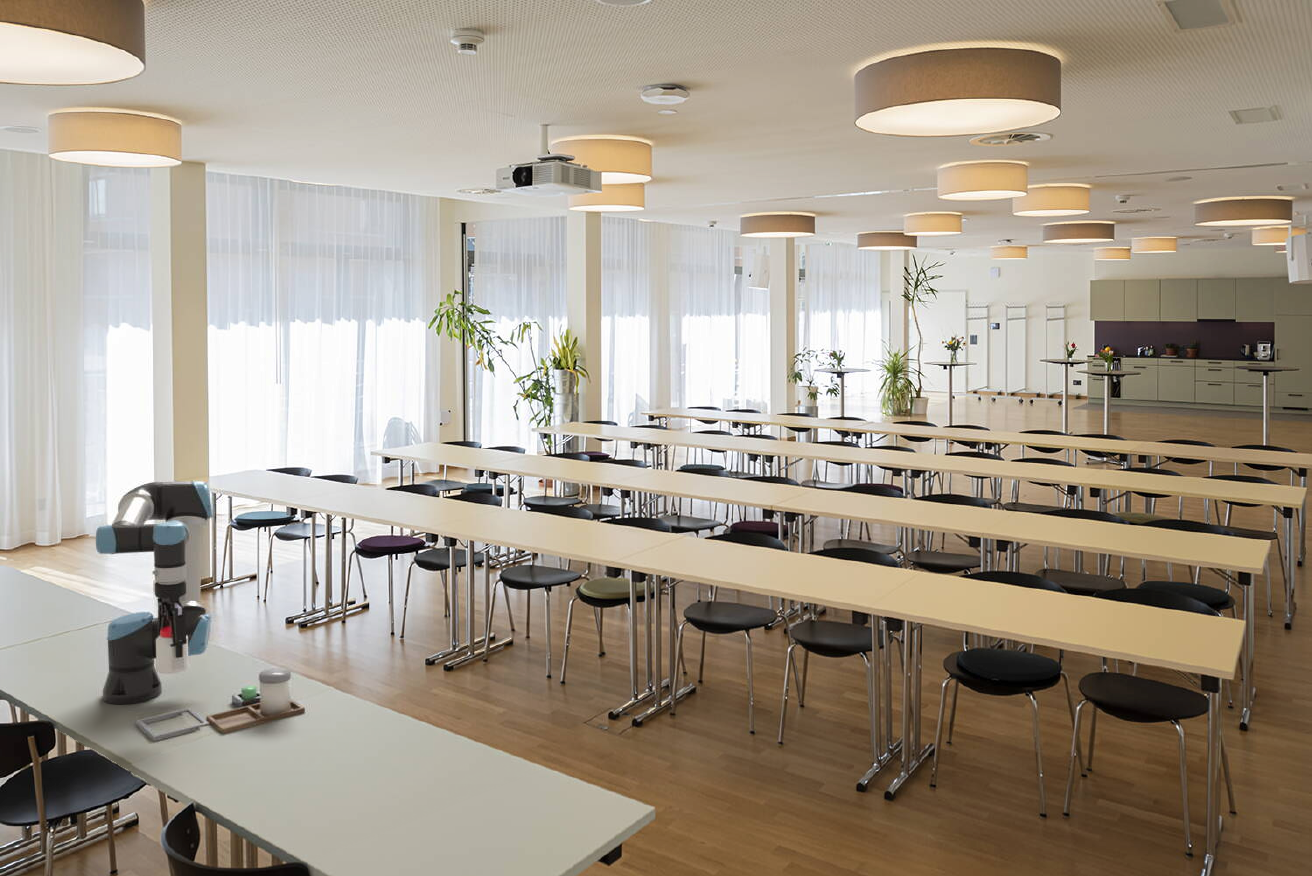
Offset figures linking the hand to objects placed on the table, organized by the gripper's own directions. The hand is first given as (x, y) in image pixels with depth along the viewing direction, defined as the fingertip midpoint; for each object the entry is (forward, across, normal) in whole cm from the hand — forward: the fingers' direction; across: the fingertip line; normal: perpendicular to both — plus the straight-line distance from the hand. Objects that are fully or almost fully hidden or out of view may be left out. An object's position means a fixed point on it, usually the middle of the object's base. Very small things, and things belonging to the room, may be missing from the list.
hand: (172, 664), depth 265 cm
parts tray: (+17, 0, 0) cm, 17 cm away
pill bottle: (+1, 0, 0) cm, 1 cm away
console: (+17, -2, +21) cm, 27 cm away
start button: (+16, -2, +21) cm, 26 cm away
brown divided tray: (+17, +9, +18) cm, 27 cm away
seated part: (+16, +9, +24) cm, 30 cm away
